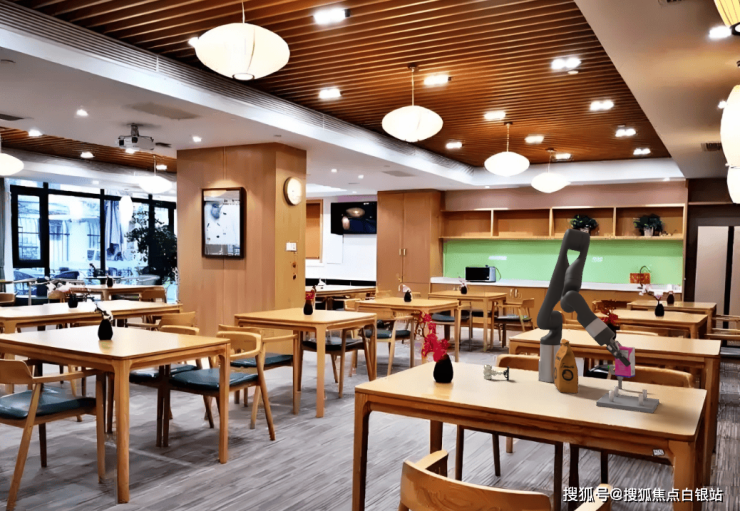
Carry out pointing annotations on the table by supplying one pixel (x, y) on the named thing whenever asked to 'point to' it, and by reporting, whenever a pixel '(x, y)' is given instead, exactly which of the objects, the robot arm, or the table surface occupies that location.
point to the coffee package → (566, 369)
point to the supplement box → (621, 368)
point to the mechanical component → (617, 376)
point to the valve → (494, 372)
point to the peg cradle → (628, 401)
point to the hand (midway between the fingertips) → (630, 364)
